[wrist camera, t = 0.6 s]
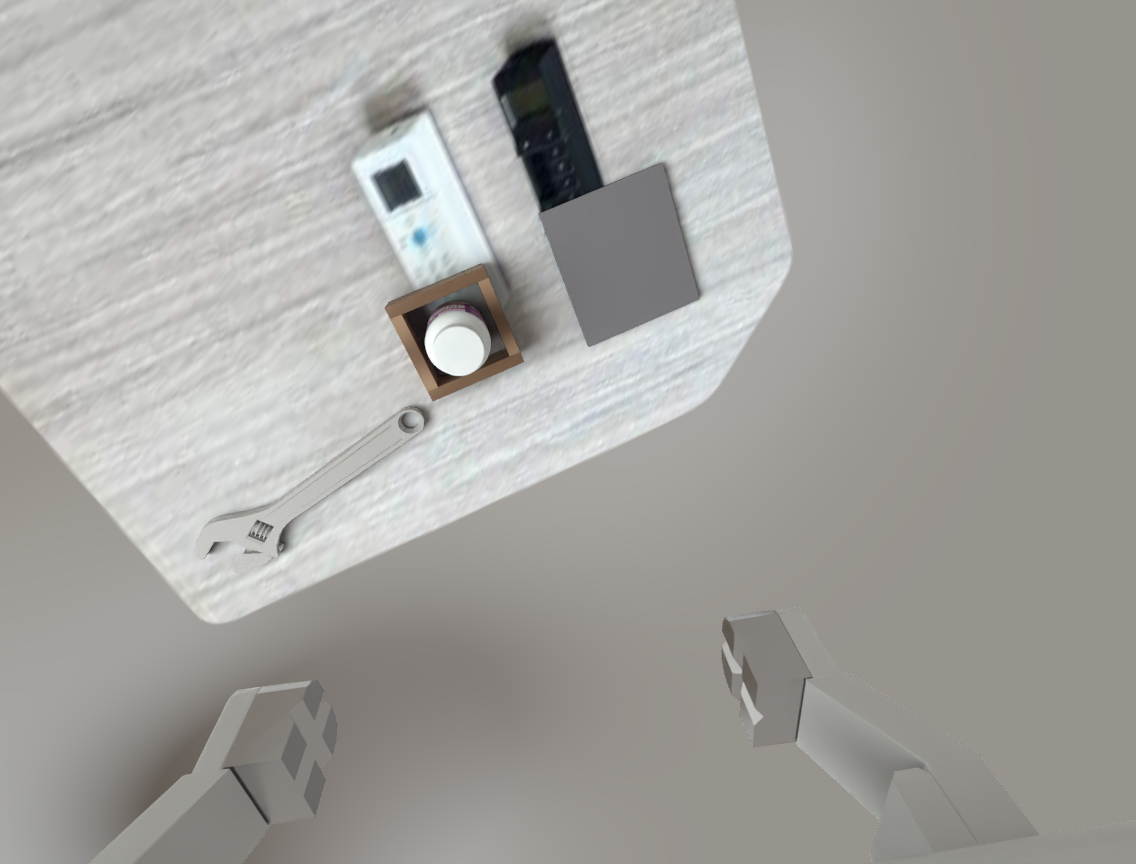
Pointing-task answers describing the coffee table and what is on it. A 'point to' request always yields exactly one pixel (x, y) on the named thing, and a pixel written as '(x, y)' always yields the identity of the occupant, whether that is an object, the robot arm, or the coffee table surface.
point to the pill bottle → (457, 338)
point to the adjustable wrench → (302, 496)
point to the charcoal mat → (621, 254)
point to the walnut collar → (411, 342)
